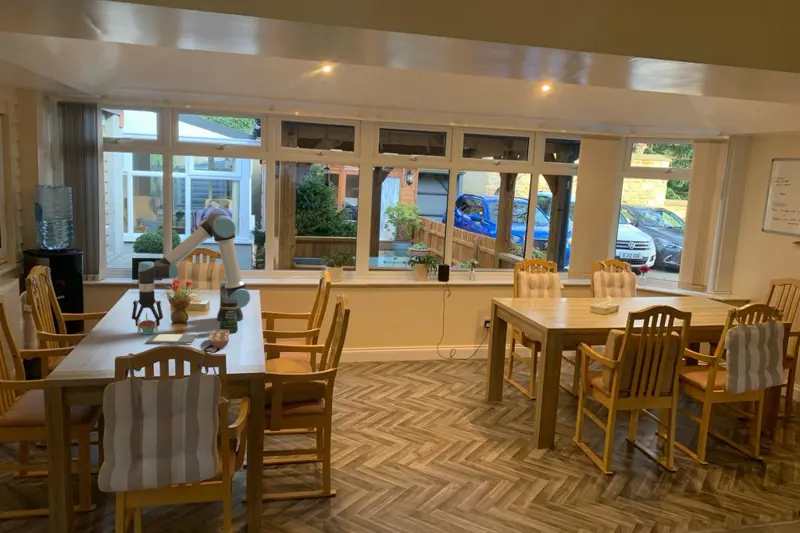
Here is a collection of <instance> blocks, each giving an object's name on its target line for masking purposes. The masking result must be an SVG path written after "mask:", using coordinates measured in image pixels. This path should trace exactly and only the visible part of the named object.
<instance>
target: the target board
mask: <svg viewBox="0 0 800 533" xmlns="http://www.w3.org/2000/svg"><path fill="white" fill-rule="evenodd" d="M197 337H198V335H197V334H181V333H180V334H179V333H177V334H173V333H172V334H165V333H164V334H163V333H162V334H160V333H159V334H157V333H154V334H153V335H151V336H150V337H149V338H148V339H147V340H146V341H145V344H146V345H162V344H161V343H168V344H167V345H176V344H175V343H184V344H183V345H186V344H185V343H193V342H194V341H195V340H196V339H195V338H197ZM194 339H195V340H194Z"/></svg>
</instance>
